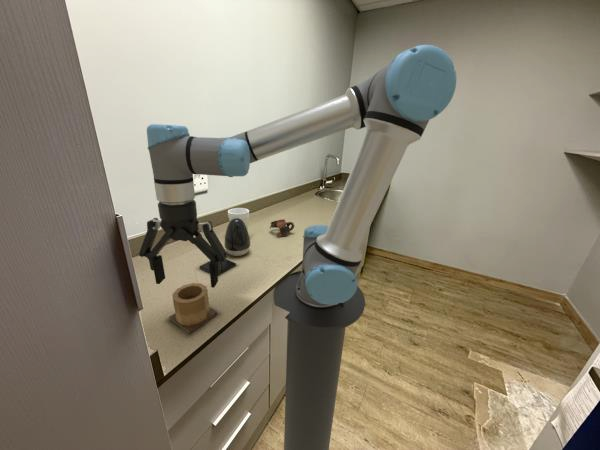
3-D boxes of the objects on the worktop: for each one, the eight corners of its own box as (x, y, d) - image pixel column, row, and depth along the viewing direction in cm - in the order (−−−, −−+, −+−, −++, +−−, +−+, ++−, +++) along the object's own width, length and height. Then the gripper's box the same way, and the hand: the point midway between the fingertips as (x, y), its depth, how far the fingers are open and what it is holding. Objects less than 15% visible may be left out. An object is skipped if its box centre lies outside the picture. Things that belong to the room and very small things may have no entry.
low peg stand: (217, 314, 66) (215, 297, 64) (189, 334, 59) (186, 316, 57) (197, 302, 70) (195, 286, 68) (169, 320, 63) (166, 303, 61)
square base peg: (236, 265, 90) (234, 241, 86) (216, 276, 83) (214, 250, 79) (219, 258, 94) (217, 235, 91) (199, 268, 87) (196, 243, 83)
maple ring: (215, 311, 65) (213, 289, 63) (189, 330, 59) (185, 306, 56) (196, 300, 69) (193, 279, 67) (170, 317, 63) (165, 294, 60)
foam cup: (240, 243, 108) (238, 215, 103) (225, 238, 112) (223, 211, 108) (254, 236, 116) (253, 210, 111) (239, 231, 120) (238, 206, 115)
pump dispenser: (226, 261, 93) (223, 224, 87) (223, 249, 102) (221, 215, 96) (253, 257, 96) (252, 221, 91) (248, 246, 105) (246, 213, 100)
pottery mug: (271, 238, 115) (267, 222, 116) (273, 239, 124) (270, 224, 125) (296, 232, 115) (292, 216, 116) (296, 234, 124) (292, 218, 125)
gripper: (238, 199, 56) (241, 277, 64) (132, 193, 57) (147, 271, 64) (228, 208, 49) (232, 295, 57) (107, 201, 50) (128, 288, 57)
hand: (187, 282), depth 61 cm, fingers open, 13 cm apart
